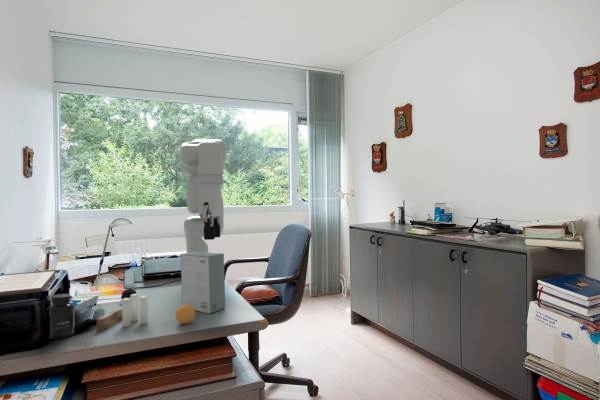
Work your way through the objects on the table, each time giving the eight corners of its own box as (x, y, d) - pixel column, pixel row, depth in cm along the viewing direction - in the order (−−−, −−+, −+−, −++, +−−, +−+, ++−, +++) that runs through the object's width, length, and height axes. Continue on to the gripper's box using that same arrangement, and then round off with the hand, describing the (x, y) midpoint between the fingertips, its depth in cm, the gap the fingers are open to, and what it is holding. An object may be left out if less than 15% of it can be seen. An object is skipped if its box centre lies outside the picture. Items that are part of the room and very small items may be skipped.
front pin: (142, 321, 122) (141, 295, 122) (149, 321, 122) (148, 295, 122) (138, 324, 120) (137, 297, 119) (145, 324, 119) (145, 297, 119)
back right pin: (133, 319, 125) (132, 293, 125) (140, 319, 125) (139, 293, 124) (129, 321, 122) (128, 295, 122) (136, 321, 122) (135, 295, 122)
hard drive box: (226, 308, 134) (224, 253, 134) (210, 314, 128) (208, 256, 127) (197, 302, 143) (196, 250, 143) (181, 307, 137) (179, 253, 136)
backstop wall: (122, 315, 129) (122, 305, 129) (128, 315, 128) (127, 305, 128) (96, 330, 115) (96, 319, 115) (103, 330, 114) (102, 319, 114)
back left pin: (125, 324, 120) (124, 298, 120) (132, 324, 120) (131, 298, 119) (120, 326, 117) (120, 300, 117) (128, 326, 117) (127, 300, 117)
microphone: (121, 301, 159) (125, 307, 141) (116, 288, 158) (119, 293, 141) (134, 295, 161) (139, 300, 144) (129, 282, 161) (134, 286, 144)
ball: (180, 320, 123) (180, 302, 123) (198, 320, 122) (197, 302, 122) (172, 326, 117) (172, 307, 117) (191, 326, 116) (190, 307, 116)
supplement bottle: (61, 340, 107) (60, 299, 107) (42, 339, 109) (40, 298, 109) (80, 331, 114) (79, 292, 114) (61, 330, 115) (60, 292, 115)
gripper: (208, 182, 127) (209, 235, 127) (189, 180, 110) (190, 242, 110) (229, 181, 126) (231, 235, 126) (213, 180, 109) (215, 241, 109)
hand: (212, 237), depth 118 cm, fingers open, 5 cm apart
